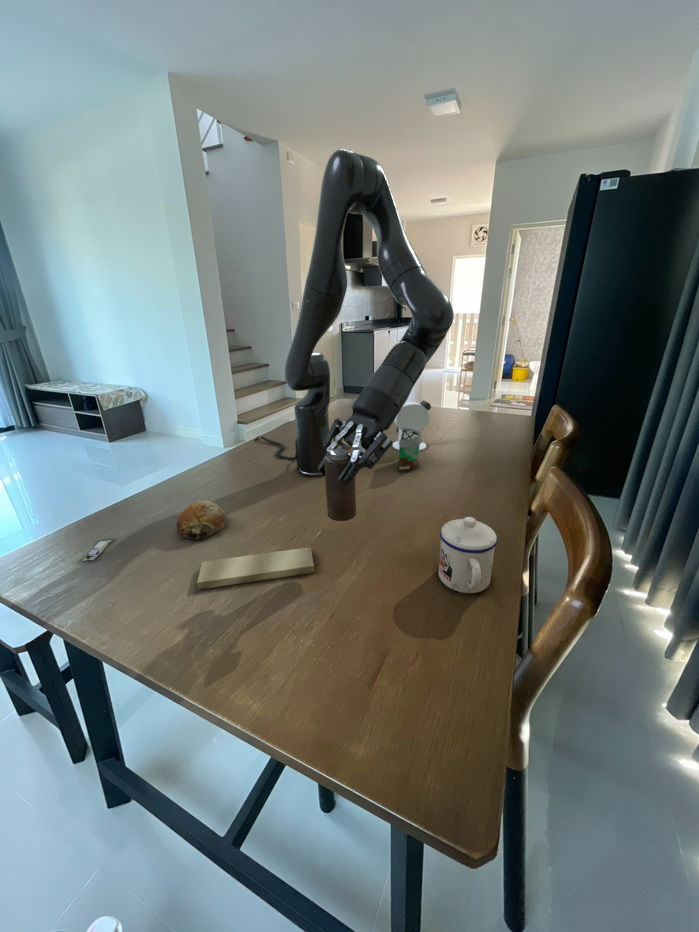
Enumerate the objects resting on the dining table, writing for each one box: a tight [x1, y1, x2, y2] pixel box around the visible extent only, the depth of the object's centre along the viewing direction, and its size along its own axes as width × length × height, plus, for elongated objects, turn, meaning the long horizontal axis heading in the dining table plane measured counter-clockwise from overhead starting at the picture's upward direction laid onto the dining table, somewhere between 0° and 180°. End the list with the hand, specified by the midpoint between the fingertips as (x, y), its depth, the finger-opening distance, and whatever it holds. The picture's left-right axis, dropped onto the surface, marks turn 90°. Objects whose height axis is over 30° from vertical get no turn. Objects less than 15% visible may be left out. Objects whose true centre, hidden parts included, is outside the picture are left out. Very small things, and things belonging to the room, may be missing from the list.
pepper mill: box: [324, 448, 357, 522], centre depth 67 cm, size 5×5×12 cm
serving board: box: [196, 546, 315, 590], centre depth 70 cm, size 20×6×2 cm, turn 101°
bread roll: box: [176, 499, 226, 541], centre depth 83 cm, size 10×10×8 cm
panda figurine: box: [392, 400, 432, 452], centre depth 127 cm, size 12×11×15 cm
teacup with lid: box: [438, 516, 498, 594], centre depth 63 cm, size 12×9×12 cm
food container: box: [398, 428, 423, 473], centre depth 112 cm, size 12×6×10 cm, turn 168°
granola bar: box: [82, 539, 112, 562], centre depth 77 cm, size 7×2×1 cm, turn 4°
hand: (331, 478), depth 65 cm, fingers closed on pepper mill, 5 cm apart
